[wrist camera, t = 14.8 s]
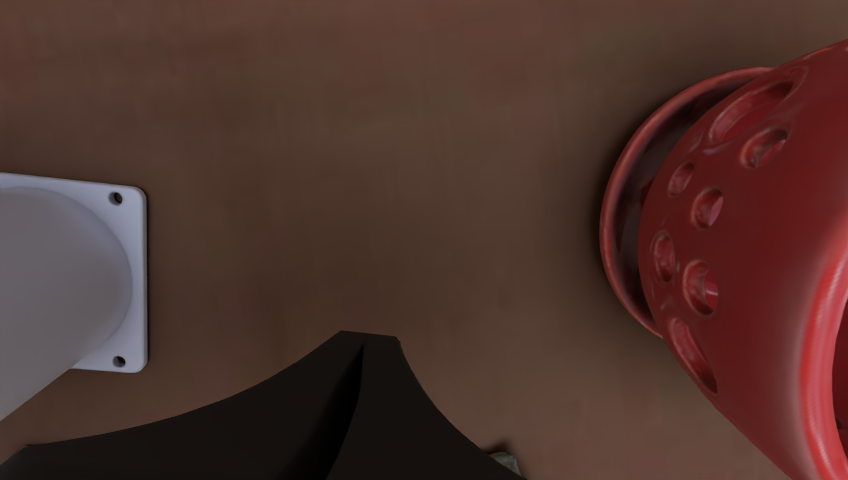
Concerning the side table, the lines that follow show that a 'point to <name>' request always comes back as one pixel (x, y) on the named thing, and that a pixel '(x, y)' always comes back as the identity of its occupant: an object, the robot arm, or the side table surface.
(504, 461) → the stone
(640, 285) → the flower pot
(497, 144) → the side table surface
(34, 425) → the side table surface
